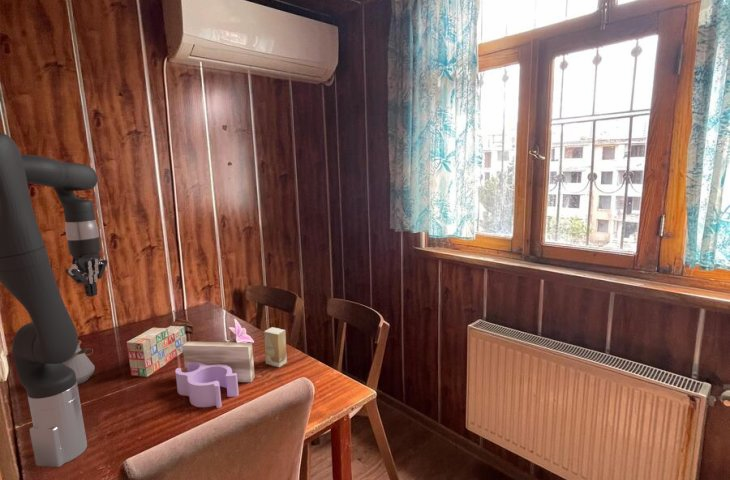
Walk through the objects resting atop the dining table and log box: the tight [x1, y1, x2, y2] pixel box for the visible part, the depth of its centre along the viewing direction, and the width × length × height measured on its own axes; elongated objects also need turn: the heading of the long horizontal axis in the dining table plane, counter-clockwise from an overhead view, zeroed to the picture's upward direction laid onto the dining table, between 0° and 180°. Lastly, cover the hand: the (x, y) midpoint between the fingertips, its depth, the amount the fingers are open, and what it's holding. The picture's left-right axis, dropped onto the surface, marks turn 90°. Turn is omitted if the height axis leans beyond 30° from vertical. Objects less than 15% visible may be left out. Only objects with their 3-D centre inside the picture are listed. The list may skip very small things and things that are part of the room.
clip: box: [175, 362, 240, 409], centre depth 121 cm, size 20×12×7 cm, turn 61°
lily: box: [228, 318, 255, 344], centre depth 154 cm, size 12×12×10 cm
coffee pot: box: [63, 339, 95, 386], centre depth 128 cm, size 21×12×15 cm, turn 55°
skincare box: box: [263, 326, 288, 368], centre depth 139 cm, size 6×4×12 cm
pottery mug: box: [169, 318, 194, 334], centre depth 165 cm, size 12×10×8 cm
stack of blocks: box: [126, 325, 187, 378], centre depth 143 cm, size 21×6×12 cm, turn 168°
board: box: [182, 341, 256, 383], centre depth 129 cm, size 3×22×12 cm, turn 84°
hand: (92, 295), depth 116 cm, fingers closed
